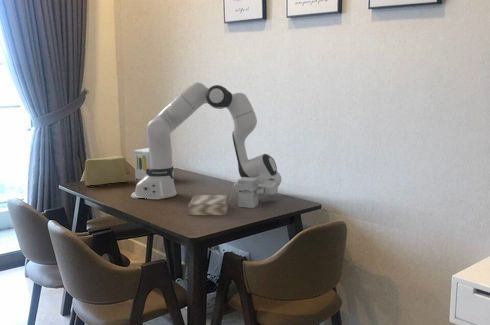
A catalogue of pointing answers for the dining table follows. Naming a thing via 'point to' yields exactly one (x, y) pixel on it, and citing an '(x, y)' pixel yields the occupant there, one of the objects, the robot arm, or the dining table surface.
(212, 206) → the block
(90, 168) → the cheese
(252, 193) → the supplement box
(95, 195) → the dining table surface
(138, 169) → the supplement box
